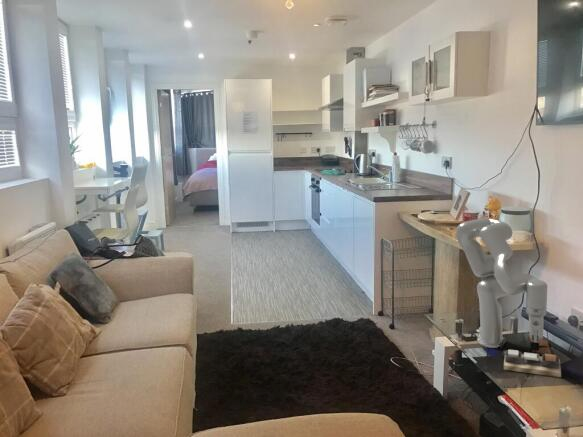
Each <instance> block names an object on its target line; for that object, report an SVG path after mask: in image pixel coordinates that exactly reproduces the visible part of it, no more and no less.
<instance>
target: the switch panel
mask: <svg viewBox="0 0 583 437" xmlns="http://www.w3.org/2000/svg"><path fill="white" fill-rule="evenodd" d="M508 350H509V349H508ZM508 350H507V349H505V352H506V355H505V354H504V358H503V359H504V360H503V370H504V371H510V372H512V371H513V372H520V373H527V374H532V375H533V374H534V375H540V376H541V375H542V376H549V377H557V378H562V367H561V361H560V358H559V356H558V355H556V362H551V361H545V355H543V354H542V356H539V361H536V360H529V359H524V353H522V351H519V358H518V357H510V356H508Z"/></svg>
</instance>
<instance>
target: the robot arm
mask: <svg viewBox="0 0 583 437" xmlns="http://www.w3.org/2000/svg"><path fill="white" fill-rule="evenodd" d="M455 236H456V240H457V242H458V244H459V246H460V247H461V249H462V250H463V252H464V254H465V257H466V259H467V261H468V263H469V266H470V270H471V271H472V273H473V275H475V277H478V278H484V277H489V276H492V275H493V277H489V278H485V279H482V280H481V281H479V282H478V283H477V286H476V293H477V296H478V301H479V320H480V321H479V322H480V326H479V327H478V329H476V332H477V333H478V334H479V336H478V337H477V338H476V339H477V340H476V341H477V344H479V345H480V346H483V347H484V348H490V349H498V347H499V346H500V345H499V344H500V343H501V342H502V340H503V339H505V337H503V311H502V310H503V309H502V305H501V304H500V302H499V300H498V299H499V298H503V297H506V296H515V295H516V296H517V295H520V294H524V293H526V295H525V296H526V297H525V299H526V300H525V313H526V314H527V315H528V329H529V330H528V331H529V335H530V337H531V344H530V343H529V349H530V350H535V351H539V338H540V339H544V317H545V316H546V315H547V306H548V304H547V303H548V284H547V282H546V281H543V280H541V279H538V278H536V277H535V276H533V275H532V274H529V273H523V274H519V275H514V276H512V273H511V271H510V270H509V267H508V264H507V263H506V262H507V260H509V259H510V258H511V257H512V256H513V255H514V250H513V249H512V247H511V246H510V245H509V242H507V241H509V240H510V239H511V238H512V237H513V229H512V227H511V226H510V225H509V224H507V222H505V221H502V220H497V219H495V218H490V217H482V218H478V219H472V220H471V219H470V220H466V221H463V222H462V223H459V224H458V225H457V227H456V230H455ZM479 237H480V239H481V240H482V242H483V244H484V245H485V247H486V248H487V250H488V251H489V253H490V254H486V252H485V249H484V247H483V245H482V244H481V243H480V242H478V241H477V240H476V238H479Z"/></svg>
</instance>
